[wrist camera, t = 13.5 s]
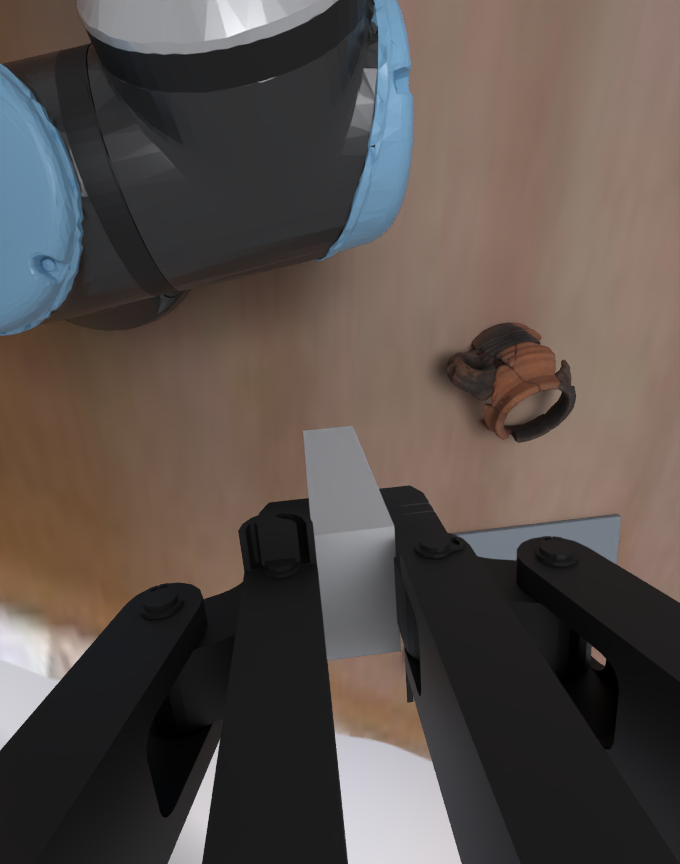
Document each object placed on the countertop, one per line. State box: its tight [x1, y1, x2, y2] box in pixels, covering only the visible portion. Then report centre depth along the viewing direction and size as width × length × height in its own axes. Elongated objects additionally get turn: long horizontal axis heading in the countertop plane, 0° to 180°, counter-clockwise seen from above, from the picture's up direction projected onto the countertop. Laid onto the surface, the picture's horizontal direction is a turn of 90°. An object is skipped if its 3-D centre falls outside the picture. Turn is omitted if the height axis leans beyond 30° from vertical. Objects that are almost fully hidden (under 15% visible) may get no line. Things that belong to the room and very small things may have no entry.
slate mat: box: [453, 514, 621, 565], centre depth 57 cm, size 20×16×1 cm
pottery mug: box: [446, 323, 576, 442], centre depth 47 cm, size 12×10×8 cm
